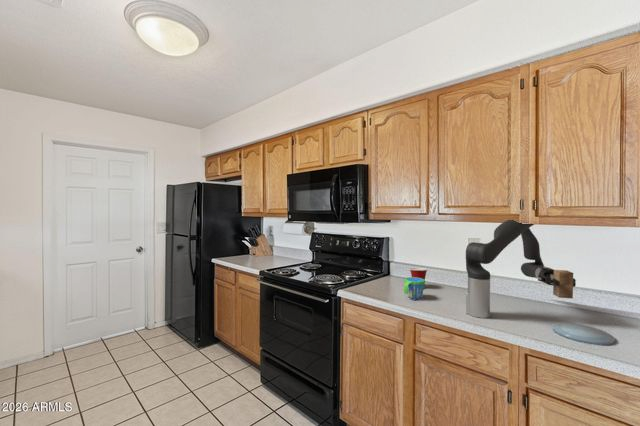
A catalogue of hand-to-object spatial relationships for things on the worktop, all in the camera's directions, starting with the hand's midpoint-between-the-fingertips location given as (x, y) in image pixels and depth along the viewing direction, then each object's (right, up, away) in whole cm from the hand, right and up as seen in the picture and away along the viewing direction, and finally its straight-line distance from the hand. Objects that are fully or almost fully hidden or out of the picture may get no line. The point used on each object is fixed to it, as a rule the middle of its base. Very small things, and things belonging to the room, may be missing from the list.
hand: (566, 284), depth 127 cm
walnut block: (+1, -6, +3) cm, 7 cm away
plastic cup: (-44, -16, +58) cm, 75 cm away
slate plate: (-3, -17, -11) cm, 21 cm away
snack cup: (-53, -16, +37) cm, 67 cm away
